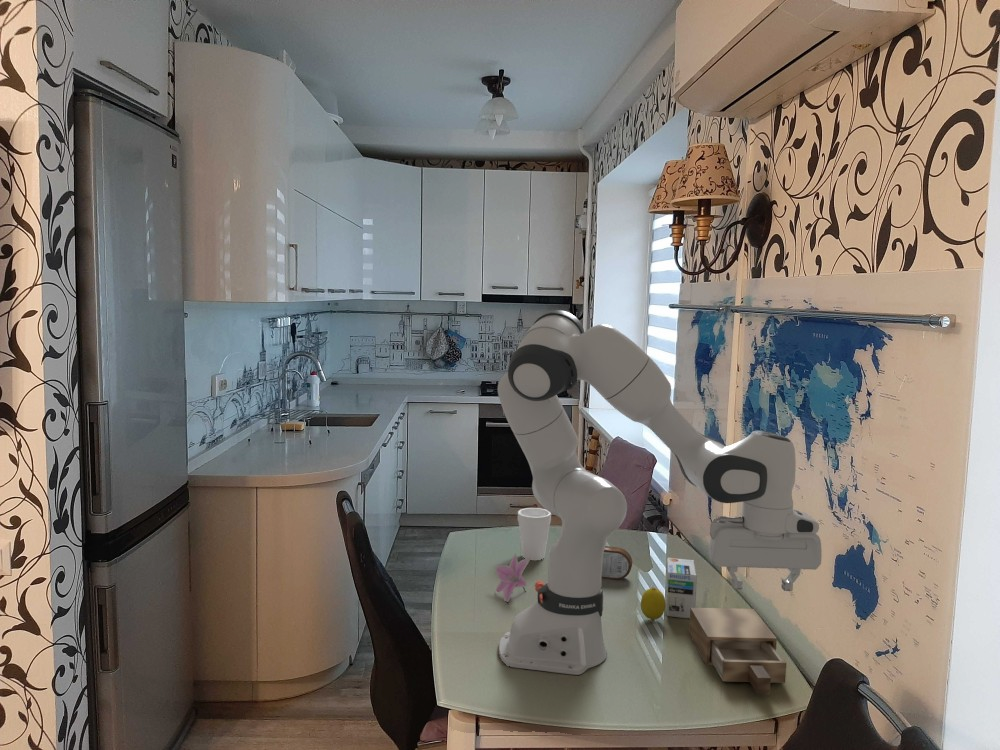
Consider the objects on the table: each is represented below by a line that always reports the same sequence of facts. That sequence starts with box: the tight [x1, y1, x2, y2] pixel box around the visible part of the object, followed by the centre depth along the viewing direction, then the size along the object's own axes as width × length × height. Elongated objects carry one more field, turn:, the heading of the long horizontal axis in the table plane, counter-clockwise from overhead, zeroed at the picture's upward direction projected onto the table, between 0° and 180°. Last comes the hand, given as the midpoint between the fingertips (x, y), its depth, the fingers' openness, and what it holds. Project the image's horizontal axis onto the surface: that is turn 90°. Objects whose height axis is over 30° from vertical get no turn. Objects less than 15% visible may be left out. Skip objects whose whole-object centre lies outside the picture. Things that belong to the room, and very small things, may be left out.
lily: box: [494, 553, 530, 603], centre depth 182 cm, size 12×12×10 cm
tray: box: [710, 640, 787, 694], centre depth 145 cm, size 12×18×4 cm, turn 0°
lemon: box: [640, 587, 666, 622], centre depth 169 cm, size 6×6×8 cm
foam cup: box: [517, 507, 552, 561], centre depth 208 cm, size 10×9×13 cm
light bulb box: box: [665, 557, 698, 619], centre depth 175 cm, size 11×7×11 cm, turn 168°
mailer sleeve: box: [688, 607, 778, 666], centre depth 156 cm, size 14×14×6 cm
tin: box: [601, 545, 633, 581], centre depth 194 cm, size 15×3×8 cm, turn 77°
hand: (761, 589), depth 138 cm, fingers open, 8 cm apart
